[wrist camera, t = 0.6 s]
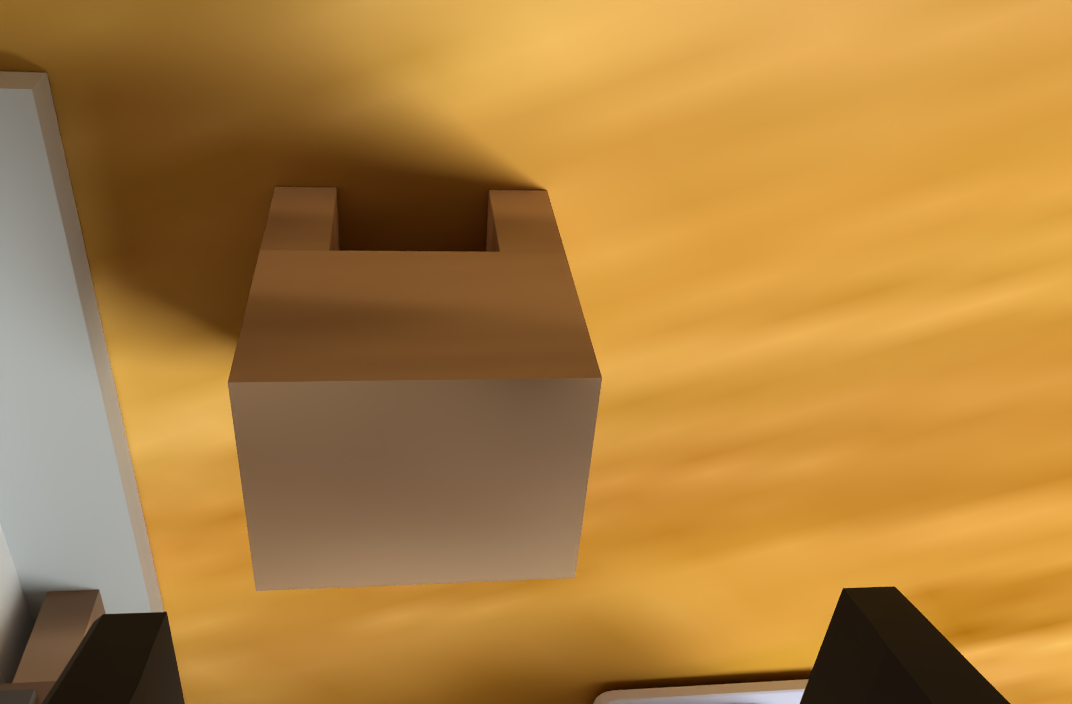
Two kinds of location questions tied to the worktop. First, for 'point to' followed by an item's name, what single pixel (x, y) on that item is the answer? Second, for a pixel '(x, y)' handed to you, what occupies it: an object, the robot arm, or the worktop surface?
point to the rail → (56, 395)
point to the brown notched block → (412, 403)
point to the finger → (52, 644)
